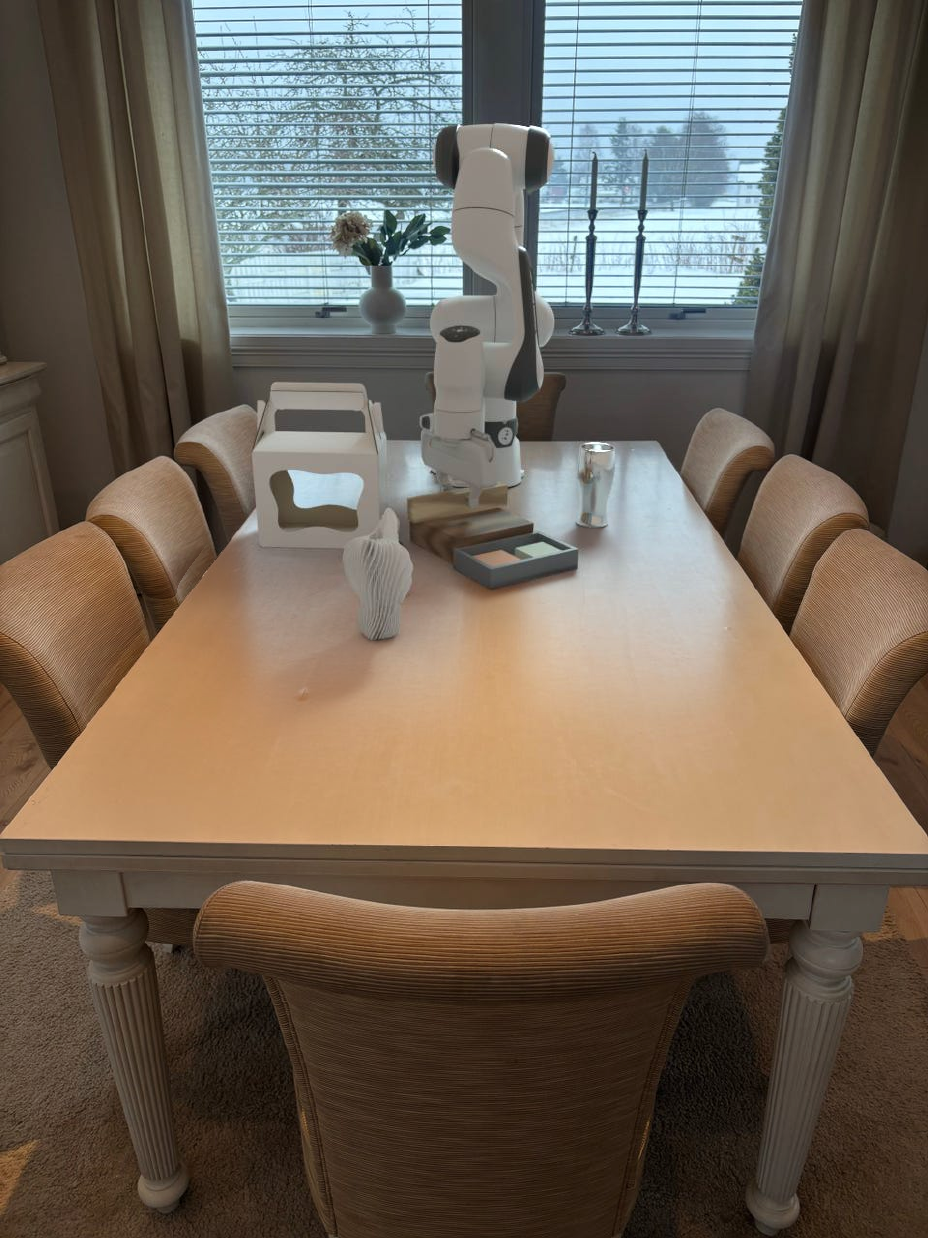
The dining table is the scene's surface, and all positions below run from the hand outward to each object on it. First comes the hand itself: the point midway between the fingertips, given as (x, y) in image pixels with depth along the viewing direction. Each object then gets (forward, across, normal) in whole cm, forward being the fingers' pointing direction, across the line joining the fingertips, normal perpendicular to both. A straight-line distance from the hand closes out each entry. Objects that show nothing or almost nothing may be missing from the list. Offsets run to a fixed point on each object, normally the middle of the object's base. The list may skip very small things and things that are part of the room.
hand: (458, 500), depth 168 cm
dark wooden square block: (+7, -4, 0) cm, 8 cm away
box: (+7, -18, 0) cm, 19 cm away
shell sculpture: (+7, -29, +32) cm, 44 cm away
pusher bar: (+2, 0, 0) cm, 2 cm away
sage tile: (+4, -19, -4) cm, 20 cm away
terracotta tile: (+4, -18, +4) cm, 19 cm away
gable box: (+8, +14, +20) cm, 26 cm away
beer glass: (+8, -6, -27) cm, 29 cm away
